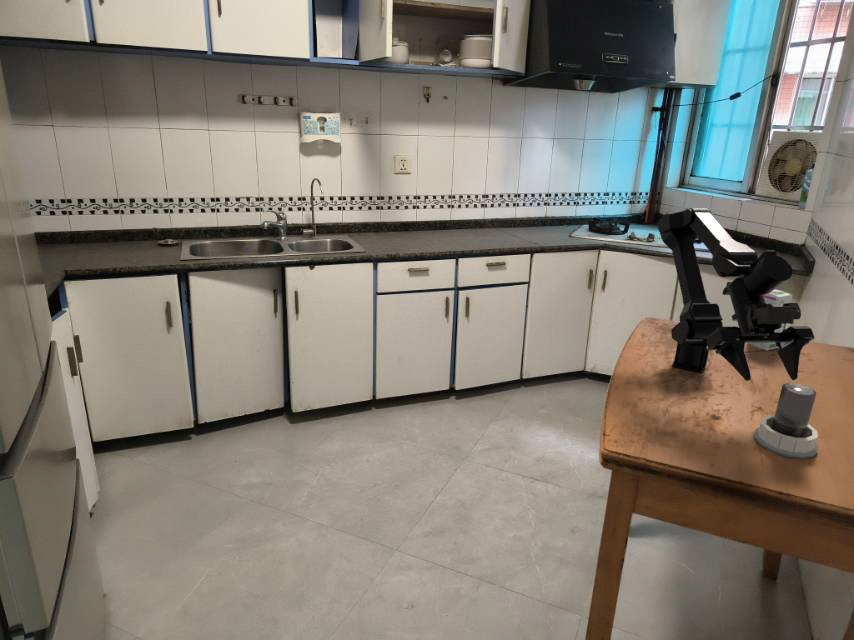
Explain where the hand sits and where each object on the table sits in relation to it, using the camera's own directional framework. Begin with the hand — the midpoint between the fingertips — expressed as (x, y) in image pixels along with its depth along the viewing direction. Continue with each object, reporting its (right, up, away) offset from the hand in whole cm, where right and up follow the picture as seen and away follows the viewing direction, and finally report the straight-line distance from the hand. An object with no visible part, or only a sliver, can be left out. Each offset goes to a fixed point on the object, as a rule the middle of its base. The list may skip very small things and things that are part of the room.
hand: (771, 379), depth 111 cm
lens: (0, -10, -4) cm, 11 cm away
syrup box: (+23, +4, +42) cm, 48 cm away
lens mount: (0, -11, -3) cm, 12 cm away
